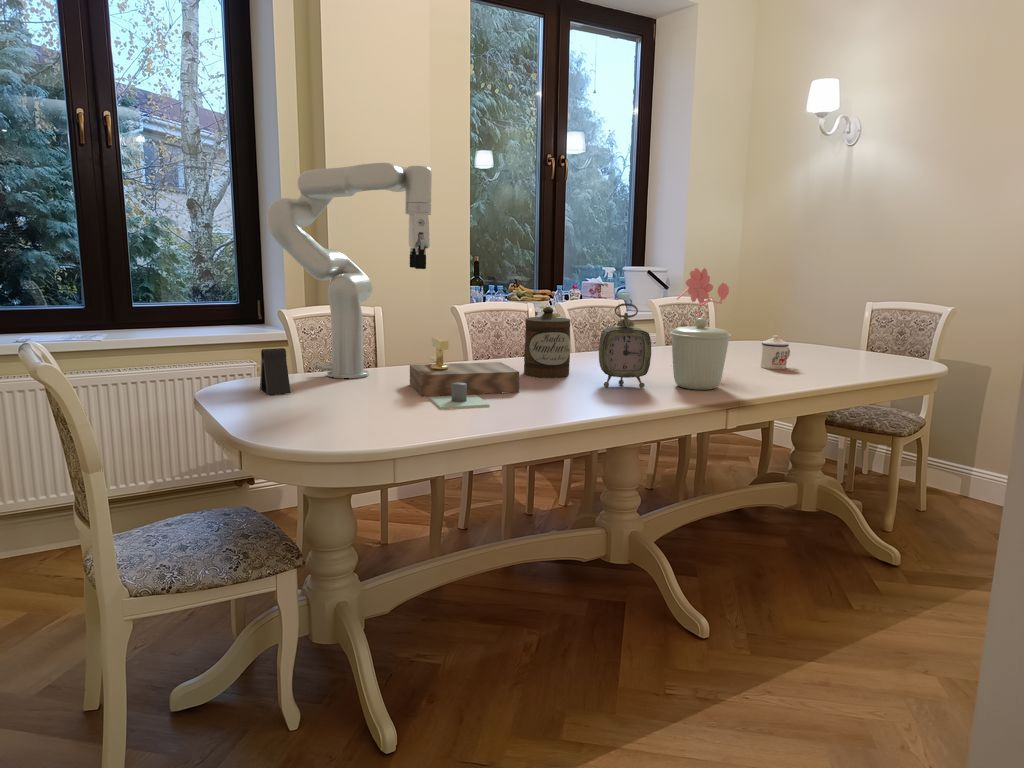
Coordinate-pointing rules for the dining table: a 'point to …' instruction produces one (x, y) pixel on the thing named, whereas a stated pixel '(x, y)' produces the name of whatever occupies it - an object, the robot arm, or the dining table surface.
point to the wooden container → (547, 345)
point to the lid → (459, 398)
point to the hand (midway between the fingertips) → (417, 268)
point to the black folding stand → (274, 372)
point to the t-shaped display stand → (439, 353)
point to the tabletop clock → (625, 350)
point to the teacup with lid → (774, 353)
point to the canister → (699, 355)
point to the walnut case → (464, 378)
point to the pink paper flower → (703, 288)
